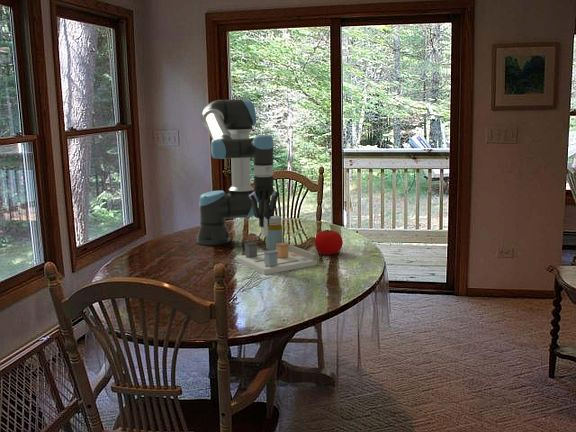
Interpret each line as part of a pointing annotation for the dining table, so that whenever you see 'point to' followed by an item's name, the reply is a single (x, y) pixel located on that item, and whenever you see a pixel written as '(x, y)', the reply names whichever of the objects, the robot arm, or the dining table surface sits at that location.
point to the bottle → (274, 233)
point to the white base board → (280, 261)
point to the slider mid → (282, 250)
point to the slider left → (250, 249)
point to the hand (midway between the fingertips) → (264, 234)
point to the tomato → (328, 242)
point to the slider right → (270, 257)
